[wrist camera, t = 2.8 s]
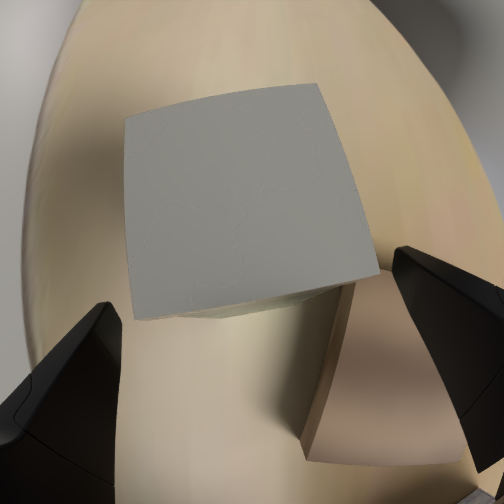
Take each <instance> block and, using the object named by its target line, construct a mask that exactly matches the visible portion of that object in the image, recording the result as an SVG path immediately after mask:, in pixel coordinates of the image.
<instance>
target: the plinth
mask: <svg viewBox="0 0 504 504" xmlns="http://www.w3.org/2000/svg"><path fill="white" fill-rule="evenodd" d="M380 273H381V274H379V275H377V276H374V277H372V278H369V279H367V280H363V281H358V282H354V283H350V284H345V285H342V287H341V291H340V296H339V301H338V305H337V310H336V314H335V319H334V323H333V327H332V331H331V335H330V339H329V343H328V347H327V351H326V355H325V359H324V362H323V366H322V370H321V373H320V377H319V380H318V384H317V387H316V391H315V394H314V398H313V401H312V404H311V407H310V410H309V414H308V417H307V420H306V423H305V426H304V429H303V432H302V435H301V438H300V444H301V446H302V449H303V452H304V455H305V458H306V461H314V462H323V463H333V464H346V465H364V466H411V465H428V464H440V463H450V462H458V461H460V459H461V457H462V454H463V452H464V449H465V447H466V444H467V441H466V438H465V435H464V432H463V430H462V427H461V425H460V422H459V419H458V416H457V414H456V411H455V409H454V407H453V404H452V402H451V399H450V397H449V395H448V392H447V390H446V388H445V386H444V383H443V381H442V379H441V377H440V375H439V372H438V370H437V368H436V366H435V364H434V362H433V360H432V358H431V356H430V353H429V351H428V349H427V347H426V345H425V343H424V341H423V339H422V337H421V336H420V334H419V332H418V330H417V328H416V326H415V324H414V322H413V320H412V318H411V316H410V314H409V312H408V310H407V308H406V305H405V303H404V301H403V298H402V296H401V293H400V291H399V289H398V286H397V284H396V282H395V280H394V277H393V274H392V272H390V271H386V270H382V269H380Z"/></svg>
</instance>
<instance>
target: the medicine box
mask: <svg viewBox="0 0 504 504" xmlns="http://www.w3.org/2000/svg"><path fill="white" fill-rule="evenodd" d="M494 502H496V500H495V497H494V496H492V495H490V494H489V493H487V492H485V491H484V490H482V489H481V488H478V489H477V490H475V491H474V492H473V493H471V494H470V495H468V496H467V497H466V498H464V499H463V500H461V501H460V502H458V503H457V504H493V503H494Z"/></svg>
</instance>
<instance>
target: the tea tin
mask: <svg viewBox="0 0 504 504" xmlns="http://www.w3.org/2000/svg"><path fill="white" fill-rule="evenodd" d="M124 212H125V233H126V248H127V260H128V271H129V281H130V290H131V298H132V306H133V313H134V320H156V319H163V318H169V317H196V318H227V317H233V316H238V315H244V314H249V313H255V312H260V311H265V310H271V309H276V308H281V307H286V306H291V305H296V304H298V303H301V302H303V301H305V300H308V299H310V298H313V297H315V296H317V295H320V294H322V293H324V292H327V291H329V290H331V289H333V288H336V287H338V286H341V285H345V284H350V283H354V282H358V281H363V280H367V279H369V278H372V277H374V276H377V275H379V274H381V273H380V269H379V265H378V261H377V257H376V253H375V249H374V245H373V241H372V237H371V234H370V230H369V227H368V223H367V220H366V216H365V213H364V209H363V206H362V203H361V199H360V196H359V193H358V190H357V187H356V184H355V181H354V178H353V175H352V172H351V169H350V166H349V163H348V160H347V158H346V155H345V152H344V149H343V147H342V144H341V141H340V139H339V136H338V133H337V131H336V128H335V126H334V123H333V121H332V118H331V116H330V113H329V111H328V108H327V106H326V104H325V101H324V99H323V97H322V94H321V92H320V90H319V88H318V85H317V83H313V84H299V85H287V86H277V87H269V88H260V89H253V90H246V91H239V92H233V93H227V94H222V95H216V96H211V97H206V98H201V99H196V100H192V101H187V102H183V103H178V104H174V105H170V106H166V107H162V108H158V109H155V110H151V111H147V112H144V113H140V114H137V115H134V116H130V117H127V118H125V136H124Z"/></svg>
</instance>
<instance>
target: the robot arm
mask: <svg viewBox="0 0 504 504" xmlns="http://www.w3.org/2000/svg"><path fill="white" fill-rule="evenodd" d="M392 274H393V277H394V280H395V282H396V284H397V286H398V289H399V291H400V293H401V296H402V298H403V301H404V303H405V305H406V308H407V310H408V312H409V314H410V316H411V318H412V320H413V322H414V324H415V326H416V328H417V330H418V332H419V334H420V336H421V337H422V339H423V341H424V343H425V345H426V347H427V349H428V351H429V353H430V356H431V358H432V360H433V362H434V364H435V366H436V368H437V370H438V372H439V375H440V377H441V379H442V381H443V383H444V386H445V388H446V390H447V392H448V395H449V397H450V399H451V402H452V404H453V407H454V409H455V411H456V414H457V416H458V419H459V422H460V425H461V427H462V430H463V432H464V435H465V438H466V441H467V443H468V446H469V449H470V452H471V455H472V458H473V461H474V464H475V467H476V470H477V472H478V474H479V473H481V472H482V471H484V470H485V469H487V468H489V467H490V466H492V465H493V464H495V463H496V462H498V461H499V460H501V459H502V458H503V457H504V289H502V288H500V287H498V286H494V284H492V283H489V282H487V281H485V280H483V279H481V278H479V277H477V276H475V275H473V274H471V273H468V272H466V271H464V270H462V269H460V268H458V267H455V266H453V265H451V264H449V263H446V262H444V261H442V260H440V259H437V258H435V257H433V256H431V255H428V254H426V253H424V252H421V251H419V250H417V249H414V248H412V247H410V246H402V247H398V248H396V249H395V252H394V258H393V265H392ZM121 349H122V322H121V319H120V317H119V316H118V314H117V312H116V310H115V308H114V307H113V305H112V303H111V302H108V301H107V302H100V303H98V304H96V305H95V306H94V307H93V308H92V309H91V310H90V311H89V312H88V313H87V314H86V315H85V316H84V317H83V318H82V319H81V320H80V321H79V322H78V323H77V324H76V325H75V326H74V327H73V328H72V329H71V330H70V331H69V332H68V333H67V334H66V335H65V336H64V337H63V339H62V340H61V341H60V342H59V343H58V344H57V345H56V346H55V347H54V348H53V349H52V350H51V351H50V352H49V353H48V354H47V355H46V356H45V357H44V359H43V360H42V361H41V362H40V363H39V364H38V365H37V366H36V367H35V368H34V369H33V371H32V372H31V373H30V374H29V375H28V376H27V377H26V378H25V379H24V381H23V382H22V383H21V384H20V385H19V386H18V387H17V388H16V389H15V390H14V391H13V392H12V393H11V395H9V396H8V398H7V399H6V400H5V401H4V402H3V403H2V404H1V405H0V504H115V487H114V485H115V435H116V418H117V405H118V393H119V383H120V374H121ZM495 500H496V502H494V503H493V504H504V473H503V476H502V479H501V482H500V485H499V488H498V491H497V494H496V496H495Z"/></svg>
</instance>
